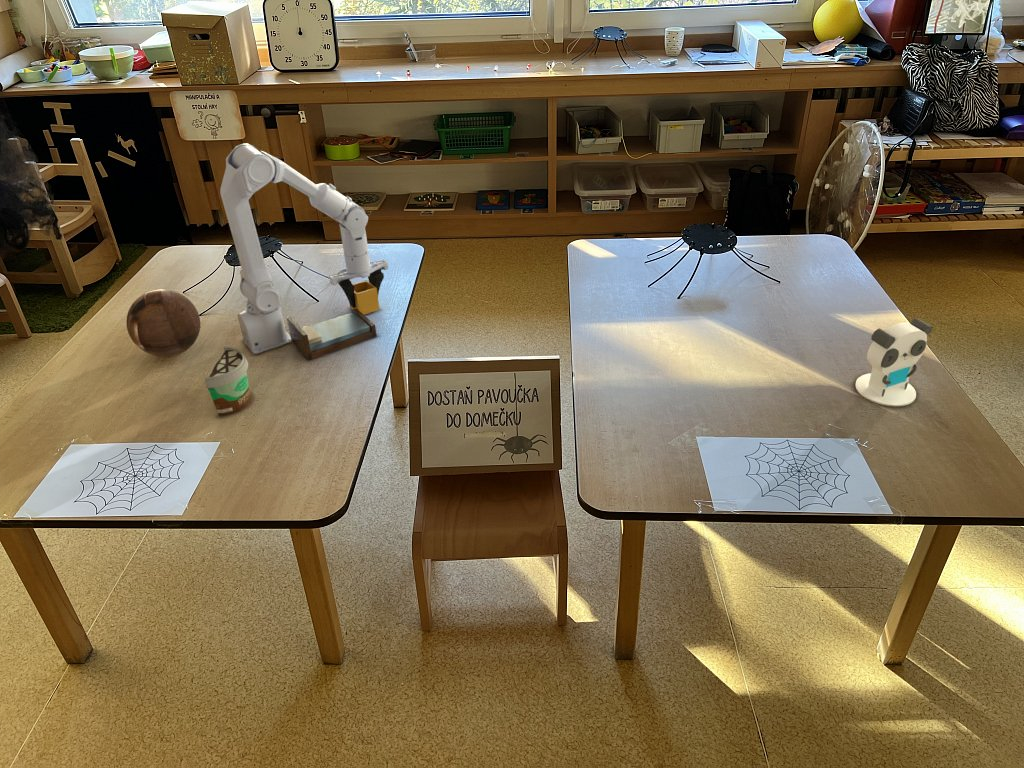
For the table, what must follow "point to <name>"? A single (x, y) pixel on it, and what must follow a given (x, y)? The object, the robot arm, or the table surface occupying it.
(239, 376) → the food container
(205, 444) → the table surface
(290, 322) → the toy bed
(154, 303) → the wooden sphere
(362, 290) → the small bin
